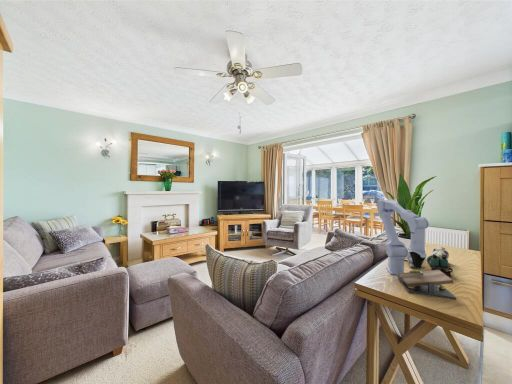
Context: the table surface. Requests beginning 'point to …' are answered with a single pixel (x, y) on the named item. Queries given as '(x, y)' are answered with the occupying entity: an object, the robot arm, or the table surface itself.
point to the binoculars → (440, 264)
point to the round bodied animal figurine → (410, 260)
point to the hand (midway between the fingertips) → (417, 267)
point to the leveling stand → (429, 290)
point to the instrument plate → (425, 278)
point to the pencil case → (438, 254)
